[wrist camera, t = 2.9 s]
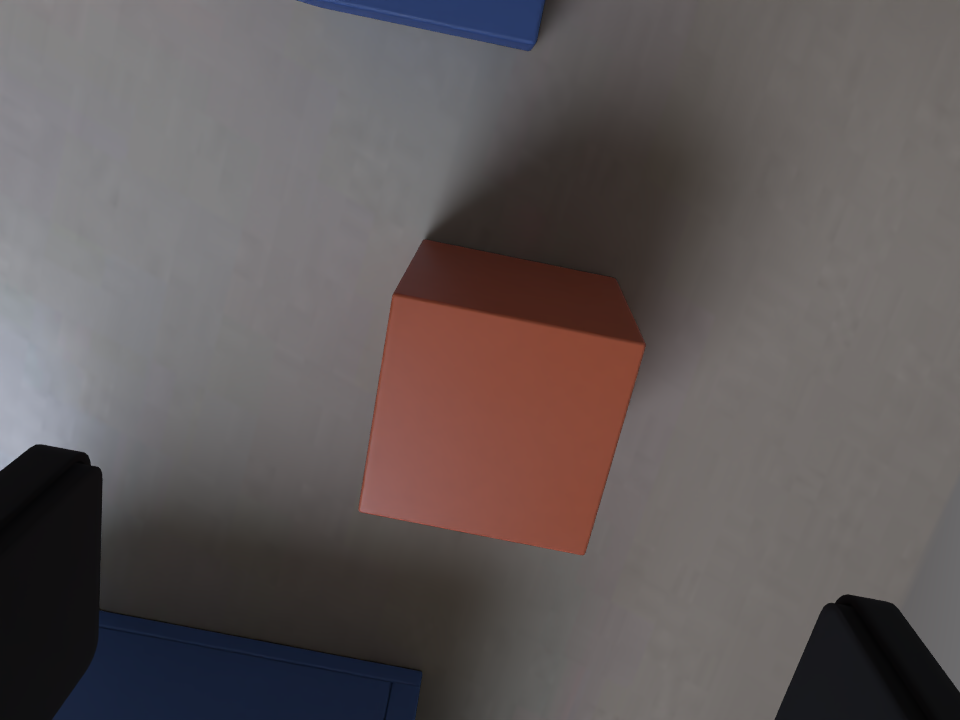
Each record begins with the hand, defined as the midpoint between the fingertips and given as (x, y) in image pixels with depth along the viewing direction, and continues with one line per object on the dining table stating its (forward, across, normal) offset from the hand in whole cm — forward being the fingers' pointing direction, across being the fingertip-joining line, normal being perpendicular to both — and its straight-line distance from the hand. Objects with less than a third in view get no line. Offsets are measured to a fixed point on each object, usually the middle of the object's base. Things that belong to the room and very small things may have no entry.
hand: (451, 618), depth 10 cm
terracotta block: (+10, 0, 0) cm, 10 cm away
